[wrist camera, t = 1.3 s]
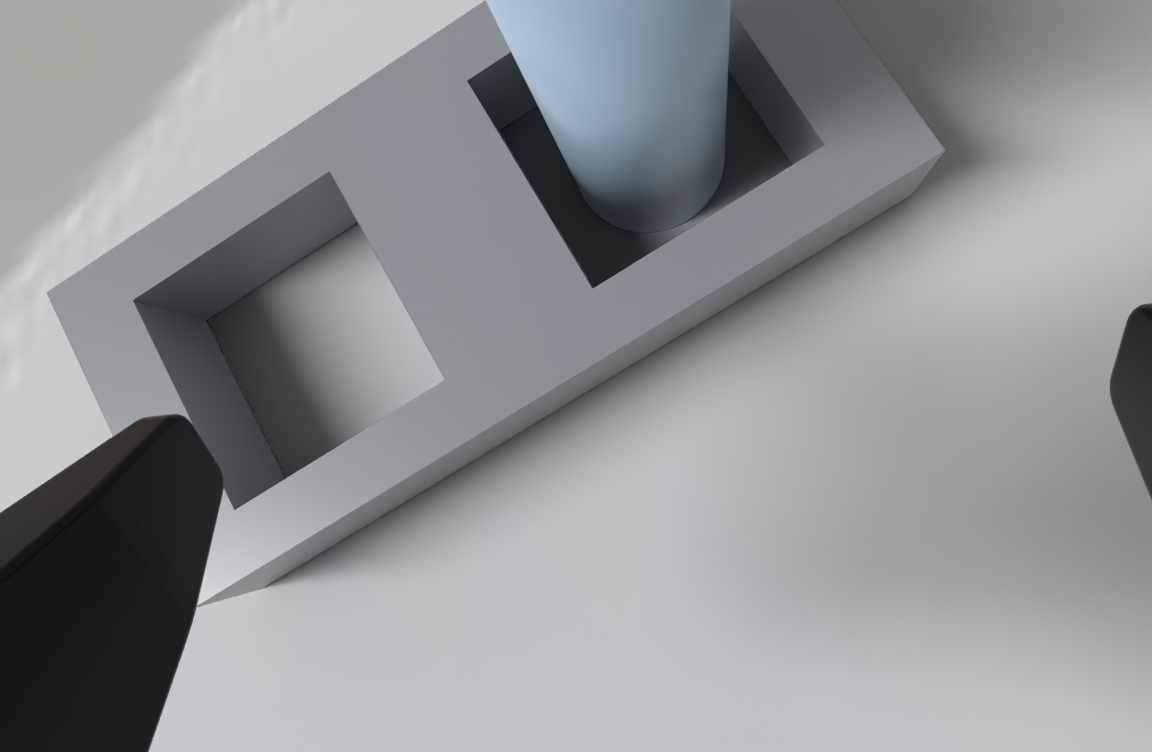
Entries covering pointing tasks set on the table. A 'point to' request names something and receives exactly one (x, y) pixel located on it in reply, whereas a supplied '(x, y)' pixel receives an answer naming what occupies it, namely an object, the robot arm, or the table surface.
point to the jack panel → (466, 265)
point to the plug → (629, 98)
